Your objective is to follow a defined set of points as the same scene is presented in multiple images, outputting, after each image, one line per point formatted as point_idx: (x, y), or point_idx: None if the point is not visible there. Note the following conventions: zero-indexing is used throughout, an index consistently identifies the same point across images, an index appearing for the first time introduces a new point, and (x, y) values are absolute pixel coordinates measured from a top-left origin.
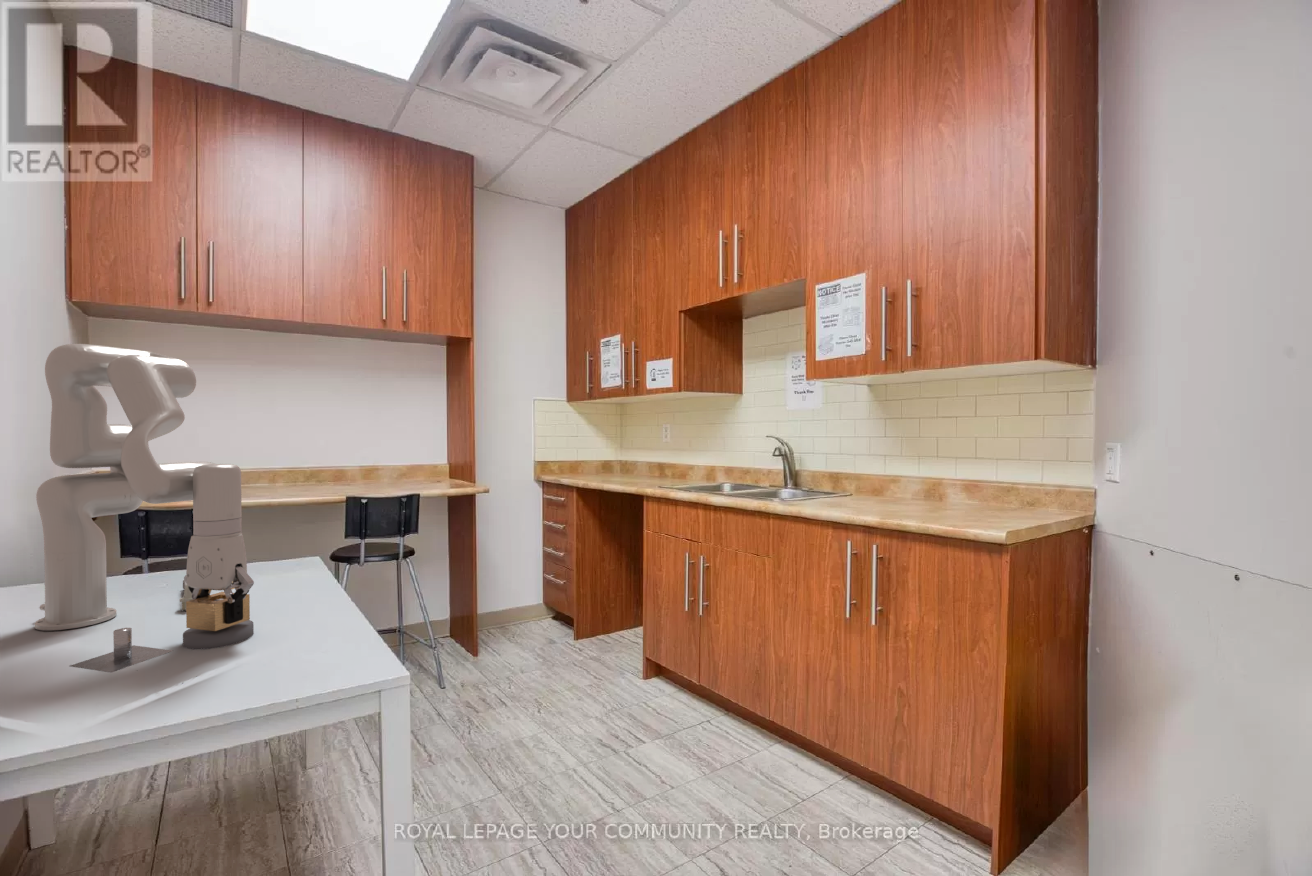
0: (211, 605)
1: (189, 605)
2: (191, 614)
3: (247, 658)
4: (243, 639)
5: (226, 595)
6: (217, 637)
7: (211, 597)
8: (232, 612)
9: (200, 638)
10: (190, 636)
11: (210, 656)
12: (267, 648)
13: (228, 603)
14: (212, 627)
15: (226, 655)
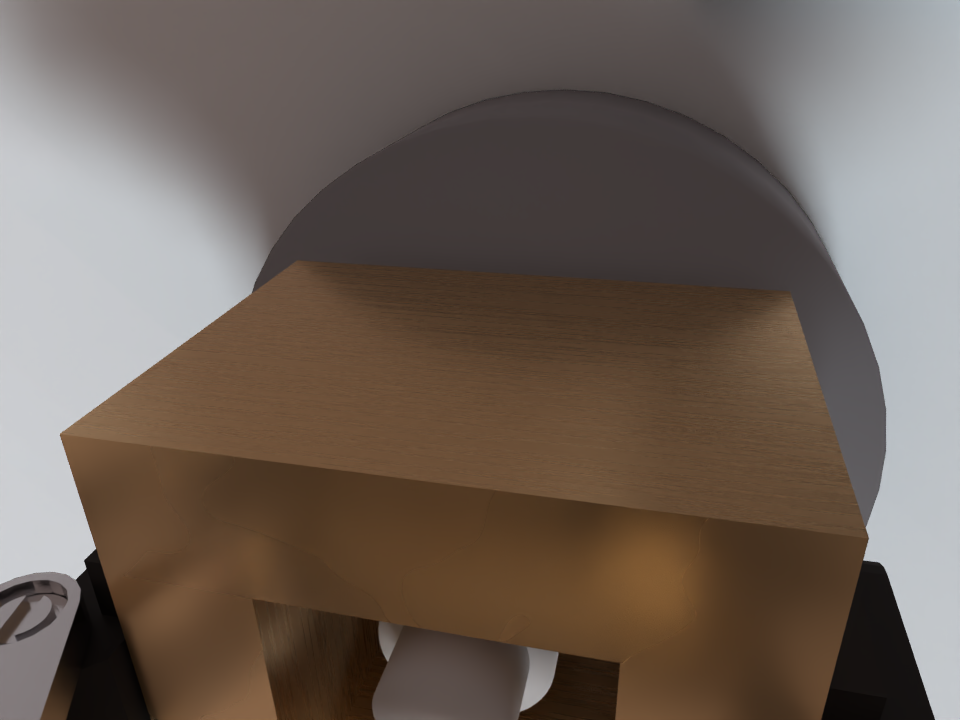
0: (146, 427)
1: (742, 469)
2: (693, 378)
3: (16, 146)
4: None
5: (30, 691)
6: (290, 232)
7: None
8: None
9: (406, 143)
10: (587, 164)
11: (326, 99)
12: (105, 350)
13: (94, 575)
14: (320, 279)
15: (225, 157)
